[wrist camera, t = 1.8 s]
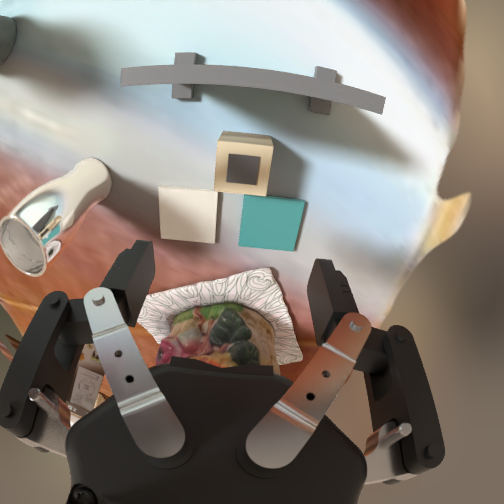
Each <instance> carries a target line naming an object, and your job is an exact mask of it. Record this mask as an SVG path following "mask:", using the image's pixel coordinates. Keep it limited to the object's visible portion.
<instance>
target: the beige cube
mask: <svg viewBox="0 0 504 504" xmlns="http://www.w3.org/2000/svg"><path fill="white" fill-rule="evenodd" d="M273 147H274V146H273V143H272V139H271V136H267V135H259V134H251V133H241V132H231V131H223V132H222V134H221V136H220V137H219V139H218V142H217V154H216V168H215V182H214V191H218V192H229V193H239V194H248V195H257V196H266V193H267V186H268V180H269V173H270V167H271V160H272V154H273Z"/></svg>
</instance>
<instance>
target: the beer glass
mask: <svg viewBox="0 0 504 504" xmlns="http://www.w3.org/2000/svg"><path fill="white" fill-rule="evenodd" d="M110 190H111V176H110V173H109V171H108V169H107V168H106V166H105V165H104V164H103V163H102V162H100V161H99V160H97V159H94V158H86V159H83V160H81V161H80V162H78V163H77V164H76V166H75V167H74V168H73V169H72V170H71V171H70V172H69V173H67V174H66V175H64V176H61V177H59V178H56V179H54V180H52V181H49V182H47V183H45V184H43V185H41V186H39V187H37V188H36V189H34V190H33V191H31V192H30V193H28V194H27V195H26V196H25V197H24V198H22V199H21V200H20V201H19V202H18V203H17V204H16V205H15V206H14V207H13V208H12V209H11V210H10V211H9V212H8V213H7V214H6V216H5V217H3V218H2V219H1V221H0V244H1V247H2V249H3V251H4V253H5V254H6V256H7V258H8V259H9V260H10V262H11V263H12V264H13V265H14V266H15V267H16V268H17V269H18V270H20V271H21V272H23V273H24V274H26V275H29V276H33V277H37V276H41V275H42V274H43V273H44V272H45V270H46V269H47V268H48V267H49V266H50V265H51V264H52V263H53V262H54V261H55V260H56V259H57V258H58V256H59V255H60V254H61V253H62V252H63V251H64V250H65V248H66V247H67V246H68V244H69V243H70V242H71V240H72V239H73V238H74V236H75V234H76V233H77V231H78V229H79V228H80V226H81V224H82V222H83V220H84V219H85V217H86V215H87V213H88V212H89V210H90V209H91V208H92V207H93V206H94V205H95V204H97V203H99V202H101V201H102V200H104V199H105V198H106V197H107V196H108V194H109V192H110Z"/></svg>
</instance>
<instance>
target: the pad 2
mask: <svg viewBox="0 0 504 504" xmlns="http://www.w3.org/2000/svg"><path fill="white" fill-rule="evenodd" d="M304 205H305V201H304V200H300V199H292V198H284V197H276V196H268V195H266V196H257V195H248V194H244V201H243V210H242V218H241V227H240V236H239V246H244V247H254V248H264V249H274V250H283V251H294V247H295V243H296V238H297V234H298V230H299V226H300V222H301V218H302V213H303V209H304Z"/></svg>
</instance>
